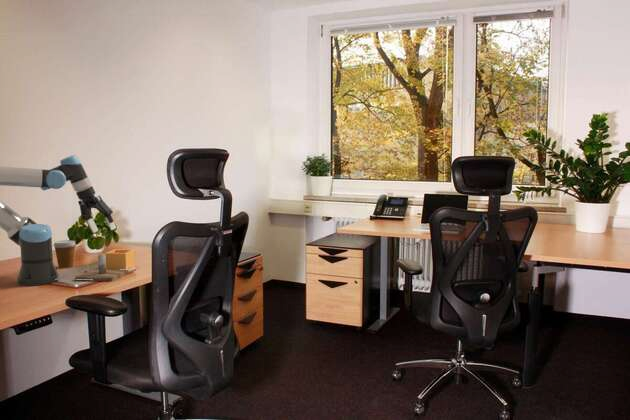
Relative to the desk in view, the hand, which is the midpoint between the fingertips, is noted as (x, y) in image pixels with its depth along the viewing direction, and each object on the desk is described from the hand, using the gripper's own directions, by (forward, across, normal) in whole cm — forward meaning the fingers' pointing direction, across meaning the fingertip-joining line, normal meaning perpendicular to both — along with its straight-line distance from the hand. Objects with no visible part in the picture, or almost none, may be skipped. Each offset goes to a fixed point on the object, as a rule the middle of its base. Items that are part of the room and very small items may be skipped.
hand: (104, 230), depth 250 cm
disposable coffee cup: (+10, +21, +13) cm, 27 cm away
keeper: (+14, -12, +18) cm, 26 cm away
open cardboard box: (+18, -4, +4) cm, 19 cm away
